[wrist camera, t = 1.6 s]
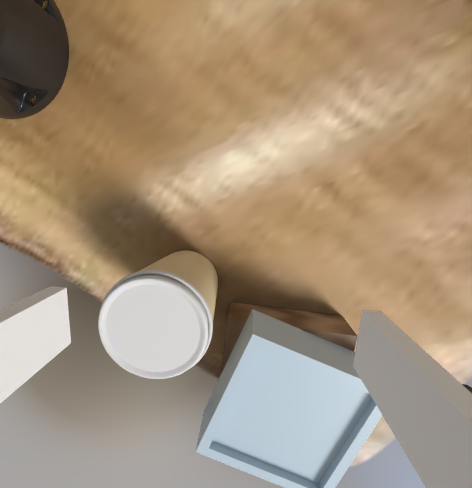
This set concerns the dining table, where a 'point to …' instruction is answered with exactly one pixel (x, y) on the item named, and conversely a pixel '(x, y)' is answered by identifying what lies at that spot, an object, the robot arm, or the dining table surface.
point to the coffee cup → (161, 316)
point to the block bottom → (311, 322)
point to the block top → (287, 407)
